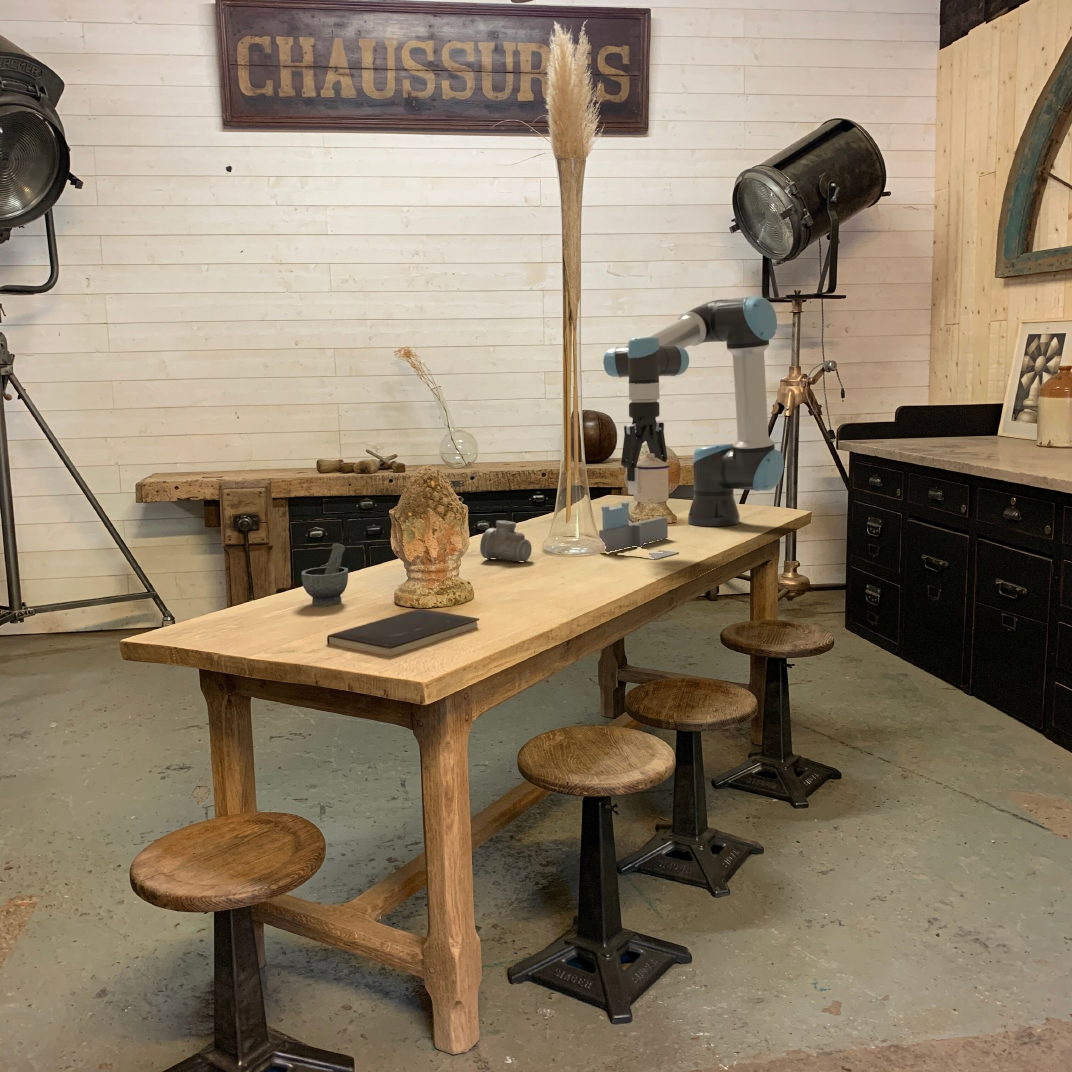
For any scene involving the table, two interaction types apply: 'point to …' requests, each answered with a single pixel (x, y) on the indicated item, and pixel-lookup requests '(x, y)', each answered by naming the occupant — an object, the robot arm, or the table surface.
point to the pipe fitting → (505, 543)
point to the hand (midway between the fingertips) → (645, 492)
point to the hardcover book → (403, 631)
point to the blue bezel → (615, 516)
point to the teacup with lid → (651, 480)
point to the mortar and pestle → (327, 580)
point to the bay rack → (637, 535)
